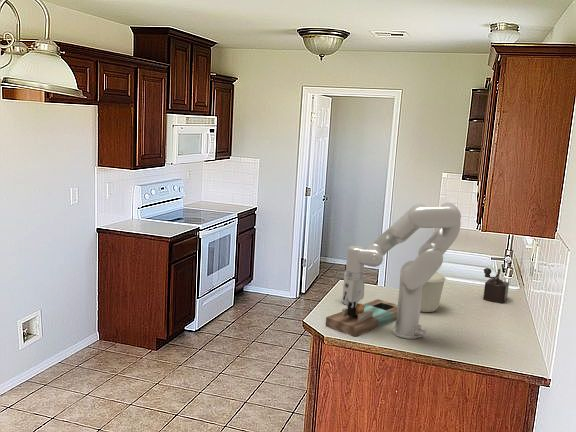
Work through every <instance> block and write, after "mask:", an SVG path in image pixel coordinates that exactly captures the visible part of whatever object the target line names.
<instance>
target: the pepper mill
mask: <svg viewBox="0 0 576 432" xmlns="http://www.w3.org/2000/svg"><path fill="white" fill-rule="evenodd" d="M492 271H493V270H492V269H491V268H489V267H485V268H484V269H483V273H484V278H489V279H487V281H486V282H485V283H484V289H483V290H484V291H483V298H482V300H484V301H487V302H492V303H496V304H502V305H503V304H505V303H506V302H507V300H508V296H509V295H508V294H509V287H510V282H508V281H504V280H502V279H500V274H501V269H499V268H498V269H497V272H496V275H495V276H491V273H492Z"/></svg>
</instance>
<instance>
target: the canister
mask: <svg viewBox="0 0 576 432" xmlns="http://www.w3.org/2000/svg"><path fill="white" fill-rule="evenodd" d="M446 280H447V277H446V276H444V275H443V274H442V273H439V272H438V271H436V273H435V274H434V275H433V276H432V277H431V278H430V279H429V280H428V281H427V282H426V283H425V285H424V286H423V287H422V299H421V308H420V313H432V312H433V313H434V312H435V311H436V310H437V309H438V307H439V305H440V301H441V297H442V294H443V293H442V292H443V289H444V283H445V282H446Z"/></svg>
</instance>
